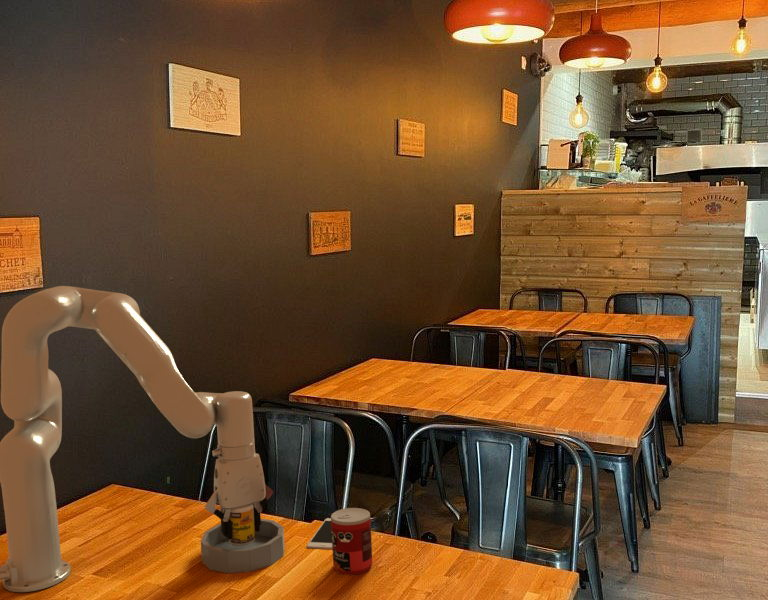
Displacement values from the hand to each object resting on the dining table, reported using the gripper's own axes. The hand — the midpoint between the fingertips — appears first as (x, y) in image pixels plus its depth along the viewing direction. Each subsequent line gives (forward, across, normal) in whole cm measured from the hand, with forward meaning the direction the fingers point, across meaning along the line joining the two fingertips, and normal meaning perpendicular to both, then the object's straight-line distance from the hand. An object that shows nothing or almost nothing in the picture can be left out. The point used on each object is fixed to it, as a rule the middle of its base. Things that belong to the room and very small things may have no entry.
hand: (241, 532), depth 161 cm
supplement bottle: (+2, 0, 0) cm, 2 cm away
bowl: (+5, 0, 0) cm, 5 cm away
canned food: (+5, +15, -20) cm, 26 cm away
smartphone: (+5, +20, -3) cm, 21 cm away
